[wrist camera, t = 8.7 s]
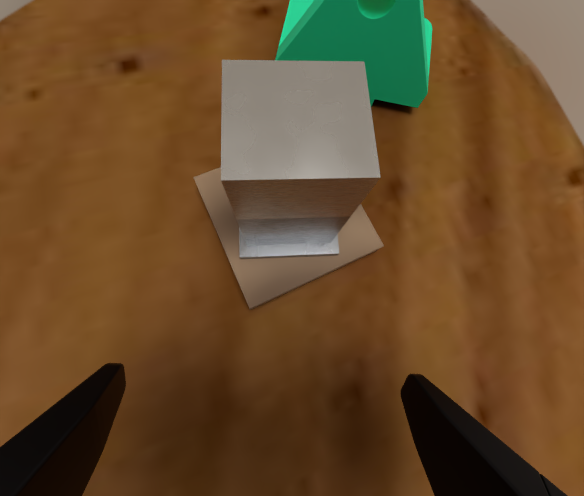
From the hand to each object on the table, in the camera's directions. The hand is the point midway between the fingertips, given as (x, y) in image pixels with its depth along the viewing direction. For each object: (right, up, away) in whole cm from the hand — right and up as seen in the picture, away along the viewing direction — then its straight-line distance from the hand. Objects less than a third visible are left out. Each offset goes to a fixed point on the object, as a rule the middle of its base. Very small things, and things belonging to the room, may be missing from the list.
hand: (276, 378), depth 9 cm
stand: (0, +6, +12) cm, 14 cm away
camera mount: (+6, +20, +16) cm, 26 cm away
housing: (0, +7, +11) cm, 12 cm away
